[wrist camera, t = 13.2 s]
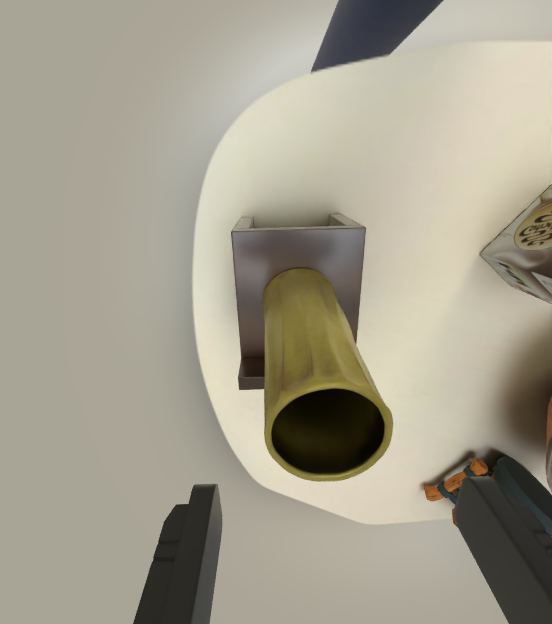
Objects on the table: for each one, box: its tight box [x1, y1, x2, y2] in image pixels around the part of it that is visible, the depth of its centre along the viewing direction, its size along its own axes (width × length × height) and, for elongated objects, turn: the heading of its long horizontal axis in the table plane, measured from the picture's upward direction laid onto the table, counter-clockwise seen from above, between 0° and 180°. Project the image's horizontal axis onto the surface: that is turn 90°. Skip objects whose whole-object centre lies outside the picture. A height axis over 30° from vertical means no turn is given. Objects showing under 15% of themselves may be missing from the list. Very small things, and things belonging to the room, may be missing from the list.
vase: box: [262, 268, 393, 481], centre depth 19 cm, size 6×6×14 cm
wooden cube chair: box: [231, 214, 366, 390], centre depth 29 cm, size 12×10×12 cm
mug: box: [425, 456, 552, 536], centre depth 43 cm, size 13×10×12 cm
